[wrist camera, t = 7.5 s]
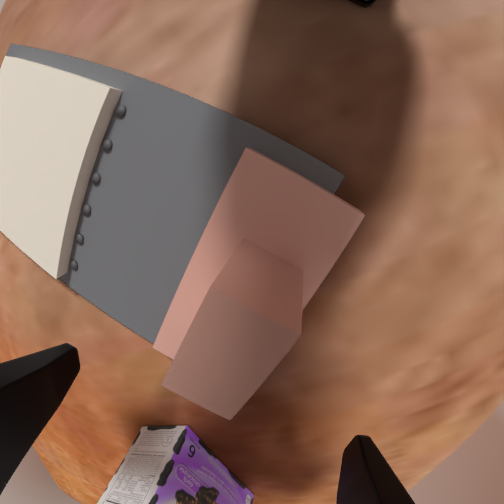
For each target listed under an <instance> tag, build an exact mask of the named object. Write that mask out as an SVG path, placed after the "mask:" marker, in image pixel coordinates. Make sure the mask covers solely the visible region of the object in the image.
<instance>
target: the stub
mask: <svg viewBox="0 0 504 504" xmlns="http://www.w3.org/2000/svg"><path fill="white" fill-rule="evenodd" d="M364 217H365V215H364V214H363V213H362V212H361V211H360V210H359V209H357V208H356V207H354V206H352V205H351V204H349V203H347V202H346V201H344V200H343V199H341V198H339V197H338V196H336V195H334V194H333V193H331V192H329V191H328V190H326V189H324V188H323V187H321V186H319V185H317V184H316V183H314V182H312V181H311V180H309V179H307V178H305V177H304V176H302V175H300V174H298V173H296V172H295V171H293V170H291V169H289V168H287V167H286V166H284V165H282V164H280V163H278V162H276V161H274V160H273V159H271V158H269V157H267V156H265V155H263V154H261V153H259V152H257V151H255V150H254V149H252V148H245V150H244V152H243V154H242V156H241V158H240V160H239V162H238V164H237V166H236V168H235V170H234V172H233V174H232V175H231V177H230V179H229V181H228V183H227V185H226V187H225V189H224V191H223V193H222V195H221V197H220V199H219V201H218V203H217V206H216V208H215V210H214V212H213V214H212V216H211V218H210V220H209V222H208V224H207V226H206V228H205V230H204V232H203V235H202V237H201V239H200V241H199V243H198V245H197V247H196V249H195V252H194V254H193V256H192V258H191V260H190V262H189V265H188V267H187V269H186V271H185V273H184V276H183V278H182V280H181V282H180V284H179V287H178V289H177V291H176V294H175V296H174V298H173V300H172V303H171V305H170V307H169V310H168V312H167V314H166V316H165V319H164V321H163V324H162V326H161V328H160V331H159V333H158V335H157V338H156V340H155V343H154V345H153V348H154V349H156V350H158V351H159V352H161V353H163V354H164V355H166V356H168V357H169V358H171V359H173V361H172V363H171V365H170V367H169V369H168V371H167V373H166V375H165V377H164V379H163V381H162V383H161V385H162V386H163V387H165V388H167V389H169V390H171V391H172V392H174V393H176V394H178V395H180V396H182V397H183V398H185V399H187V400H189V401H191V402H193V403H195V404H197V405H199V406H201V407H203V408H205V409H207V410H209V411H211V412H213V413H215V414H217V415H219V416H222V417H224V418H226V419H228V420H231V419H232V418H233V417H234V416H235V415H236V413H237V412H238V411H239V410H240V409H241V408H242V407H243V405H244V404H245V403H246V402H247V401H248V400H249V399H250V397H251V396H252V395H253V394H254V393H255V392H256V390H257V389H258V388H259V387H260V386H261V384H262V383H263V382H264V381H265V380H266V378H267V377H268V376H269V375H270V374H271V372H272V371H273V370H274V369H275V367H276V366H277V365H278V364H279V362H280V361H281V360H282V359H283V357H284V356H285V355H286V354H287V352H288V351H289V350H290V349H291V347H292V346H293V345H294V343H295V342H296V341H297V340H298V338H299V337H300V336H301V328H302V311H303V309H304V308H305V306H306V305H307V303H308V302H309V301H310V299H311V298H312V296H313V295H314V293H315V292H316V290H317V289H318V288H319V286H320V285H321V283H322V282H323V280H324V279H325V277H326V276H327V274H328V273H329V271H330V270H331V268H332V267H333V265H334V264H335V262H336V261H337V259H338V258H339V256H340V255H341V253H342V252H343V250H344V248H345V247H346V245H347V244H348V242H349V241H350V239H351V238H352V236H353V234H354V233H355V231H356V230H357V228H358V226H359V225H360V223H361V222H362V220H363V218H364Z"/></svg>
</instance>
